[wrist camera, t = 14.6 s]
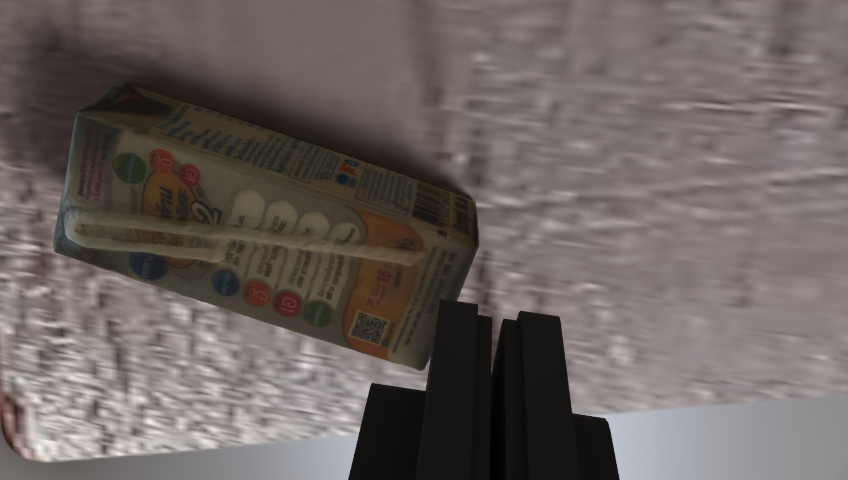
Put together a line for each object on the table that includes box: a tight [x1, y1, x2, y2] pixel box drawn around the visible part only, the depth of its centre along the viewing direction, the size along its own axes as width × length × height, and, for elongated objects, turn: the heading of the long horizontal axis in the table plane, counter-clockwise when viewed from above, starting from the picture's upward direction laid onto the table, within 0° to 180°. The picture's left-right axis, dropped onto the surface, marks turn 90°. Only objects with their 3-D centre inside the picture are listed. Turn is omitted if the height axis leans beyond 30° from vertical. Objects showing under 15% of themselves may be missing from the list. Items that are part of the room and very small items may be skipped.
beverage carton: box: [53, 83, 479, 371], centre depth 38 cm, size 8×19×7 cm, turn 71°
